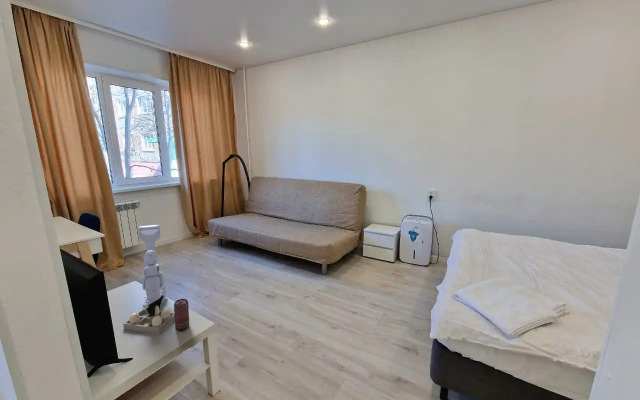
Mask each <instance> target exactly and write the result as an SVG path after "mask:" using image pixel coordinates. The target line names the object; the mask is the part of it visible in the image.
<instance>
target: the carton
mask: <svg viewBox="0 0 640 400" xmlns="http://www.w3.org/2000/svg"><path fill="white" fill-rule="evenodd" d="M161 312H162V310H159V313H160V315H159V316H160V317H161ZM137 313H138V314H139V316H140V321H139V322H138V323H136V324H130V319H128V320H126V321H124V322H123V323H122V325H123V330H128V331H133V332H142V333H149V334H155V335H159V334H161V333H162V332H163V331H164V330H166V328H167V327H168V326H169V325H171V324H172V323H173V322H175V315H174V312H173V311H172V312H171V311H170V318H168V319H167V320H164V319H162V325H161V326H159V327H158V328H157V327H152V319H153V318H150V316H149V313H148V311H147V310H146V309H145V308H142V309H141V310H139V311H138V312H137Z"/></svg>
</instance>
